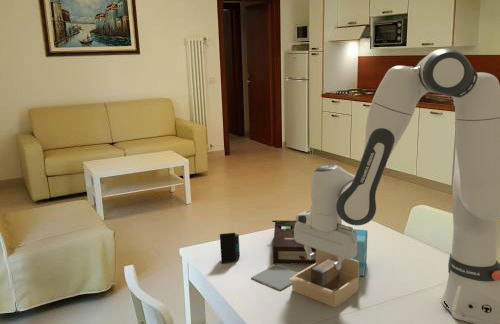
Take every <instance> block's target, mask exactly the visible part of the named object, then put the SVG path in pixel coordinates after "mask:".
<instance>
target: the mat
mask: <svg viewBox="0 0 500 324" xmlns="http://www.w3.org/2000/svg"><path fill="white" fill-rule="evenodd" d="M297 273H298V272H296V271H294V270H291V269H289V268H286V267H283V266H281V265H279V264H274V265H272V266H270V267H268V268H265V269H264V270H262V271H261V272H258V273H257V274H255V275H252V276H251V278H250V279H251V280H253V281H256V282H258V283H260V284H263V285H265V286H267V287H270V288H272V289H275V290H277V291H280V292H281V291H283V290H285V289H286V288H288V287H290V286H291V285H292V281H290V280H289V279H290V278H291V277H292V276H294V275H296V274H297Z"/></svg>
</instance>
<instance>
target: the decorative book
mask: <svg viewBox="0 0 500 324" xmlns="http://www.w3.org/2000/svg"><path fill="white" fill-rule="evenodd" d="M296 222H297V221H296V220H281V219H279V220H278V219H277V220H276V219H275V220H272V221H271V223H274V230H273V232H274V233H273V243H272V259H273V260H272V264H274V265H313V264H315V263H316V249H315V248H312V247H311V250H312V253H315V255H314V259H313V260H309V259H307V253H306V251H305V248H304V245H303V244H300V243H297V242H296V241H295V239H294V227H295V223H296Z"/></svg>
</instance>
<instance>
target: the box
mask: <svg viewBox="0 0 500 324" xmlns="http://www.w3.org/2000/svg"><path fill="white" fill-rule="evenodd" d="M335 262H336V261H333V260H330V259H328V260H326V261H324V262H322V263H321V264H319V265H317V266H315V267H314V268H312V269H311V281H310V282H311V283H314V284H316V285H319V286H322V287H324V288H327V289H329V290H332V291H336V290H338V289H339V288H340V285H339V270H337V269H334V263H335Z"/></svg>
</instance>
